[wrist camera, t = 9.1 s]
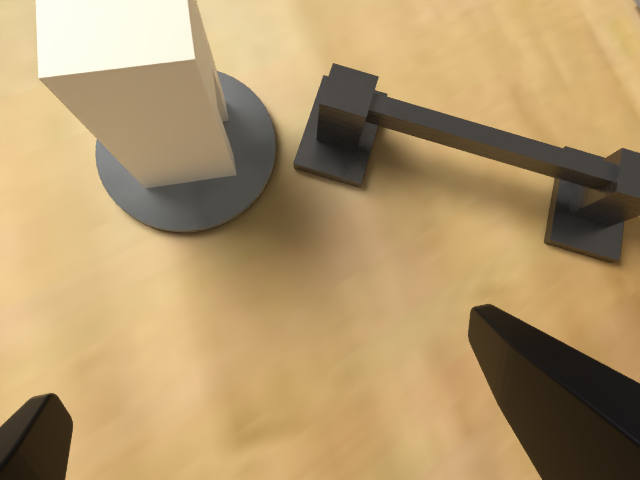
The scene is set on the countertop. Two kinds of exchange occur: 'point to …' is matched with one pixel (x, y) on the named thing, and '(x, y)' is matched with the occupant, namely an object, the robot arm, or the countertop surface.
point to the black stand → (561, 163)
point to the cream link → (139, 84)
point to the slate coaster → (205, 195)
